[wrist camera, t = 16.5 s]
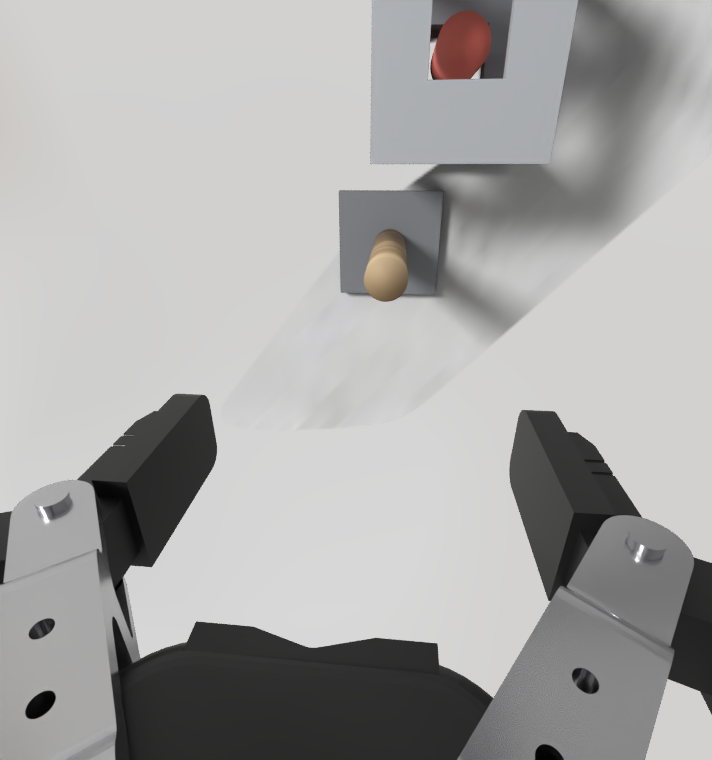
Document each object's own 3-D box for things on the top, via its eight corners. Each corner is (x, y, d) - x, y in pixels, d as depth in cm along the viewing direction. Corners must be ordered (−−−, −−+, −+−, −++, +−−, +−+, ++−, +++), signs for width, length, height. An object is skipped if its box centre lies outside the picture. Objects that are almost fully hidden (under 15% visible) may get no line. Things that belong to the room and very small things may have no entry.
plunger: (432, 39, 30) (438, 11, 24) (477, 37, 30) (494, 9, 24) (429, 91, 31) (434, 76, 26) (471, 90, 31) (487, 75, 25)
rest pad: (340, 190, 35) (338, 191, 34) (442, 190, 34) (443, 191, 34) (341, 289, 39) (340, 292, 38) (434, 292, 38) (435, 294, 37)
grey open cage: (382, -46, 28) (373, -131, 20) (542, -53, 28) (603, -144, 19) (378, 162, 34) (370, 164, 25) (512, 161, 33) (549, 163, 25)
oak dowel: (374, 228, 35) (363, 257, 25) (406, 229, 35) (409, 257, 24) (374, 260, 36) (363, 301, 26) (404, 261, 36) (407, 302, 25)
